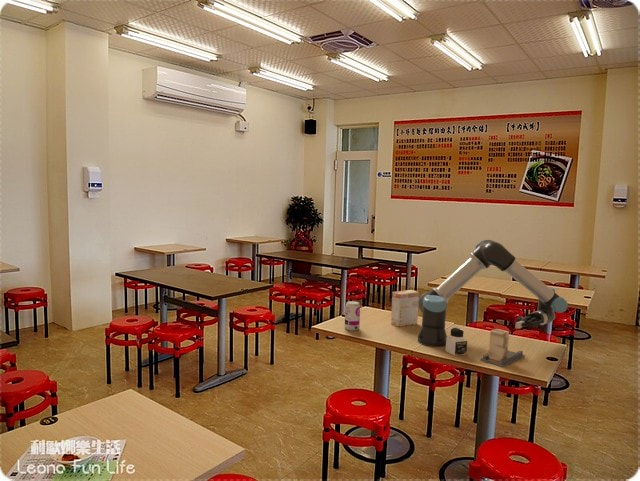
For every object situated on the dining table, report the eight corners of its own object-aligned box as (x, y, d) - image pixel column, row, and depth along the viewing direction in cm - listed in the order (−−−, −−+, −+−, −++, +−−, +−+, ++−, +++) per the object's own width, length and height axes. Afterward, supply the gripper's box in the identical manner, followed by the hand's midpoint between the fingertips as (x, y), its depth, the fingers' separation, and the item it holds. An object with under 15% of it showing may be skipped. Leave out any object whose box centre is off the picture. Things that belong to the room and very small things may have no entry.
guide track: (502, 350, 232) (502, 346, 232) (524, 357, 224) (525, 351, 224) (480, 360, 217) (480, 355, 217) (503, 367, 209) (503, 361, 209)
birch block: (494, 355, 221) (496, 328, 220) (507, 358, 216) (509, 331, 215) (488, 358, 217) (490, 330, 215) (501, 361, 212) (503, 333, 211)
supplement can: (361, 328, 263) (362, 302, 261) (354, 331, 256) (355, 305, 254) (349, 326, 267) (350, 300, 266) (341, 329, 260) (343, 302, 259)
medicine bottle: (454, 356, 221) (456, 331, 220) (445, 351, 228) (446, 327, 227) (466, 354, 224) (468, 330, 223) (456, 350, 231) (458, 326, 230)
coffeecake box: (409, 321, 283) (411, 289, 281) (417, 324, 276) (419, 291, 275) (390, 323, 275) (391, 291, 273) (398, 327, 269) (399, 293, 267)
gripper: (549, 329, 238) (529, 336, 222) (523, 323, 248) (503, 329, 232) (550, 314, 238) (531, 321, 222) (525, 309, 247) (504, 315, 231)
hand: (516, 325), depth 227 cm, fingers closed
